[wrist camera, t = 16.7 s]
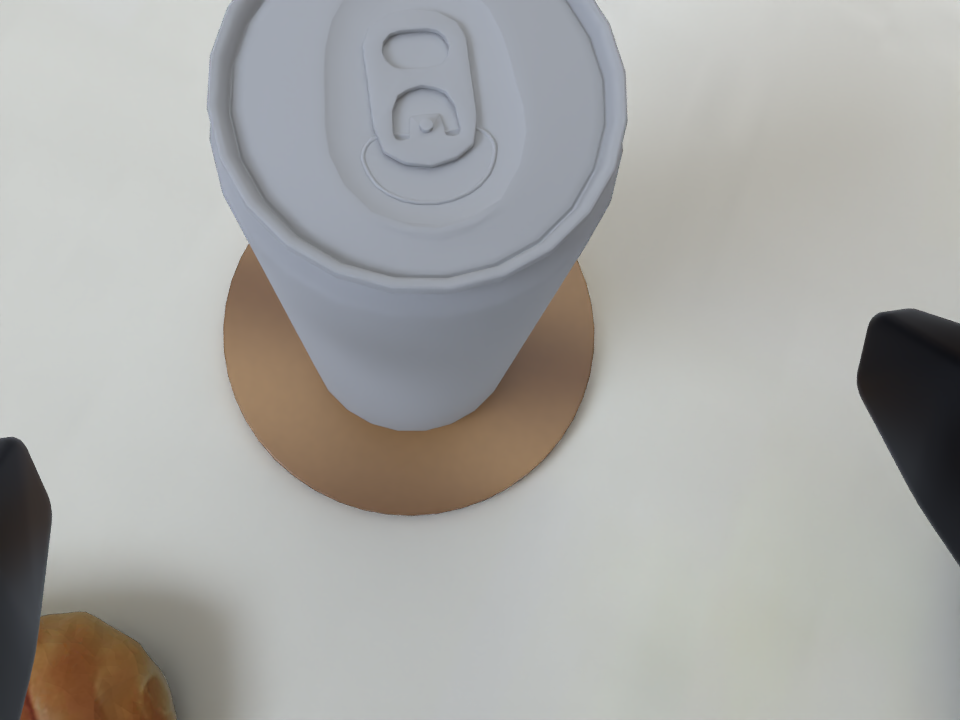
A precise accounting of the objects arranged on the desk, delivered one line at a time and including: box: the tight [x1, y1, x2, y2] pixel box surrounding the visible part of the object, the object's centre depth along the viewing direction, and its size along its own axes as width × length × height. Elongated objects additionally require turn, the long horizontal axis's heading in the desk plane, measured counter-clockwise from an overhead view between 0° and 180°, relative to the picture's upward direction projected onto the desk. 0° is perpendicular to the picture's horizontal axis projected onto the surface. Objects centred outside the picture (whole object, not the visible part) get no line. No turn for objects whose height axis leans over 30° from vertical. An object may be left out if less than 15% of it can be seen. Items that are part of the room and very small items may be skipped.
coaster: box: [223, 244, 594, 516], centre depth 21 cm, size 9×9×1 cm
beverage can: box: [207, 0, 627, 431], centre depth 15 cm, size 5×5×12 cm
